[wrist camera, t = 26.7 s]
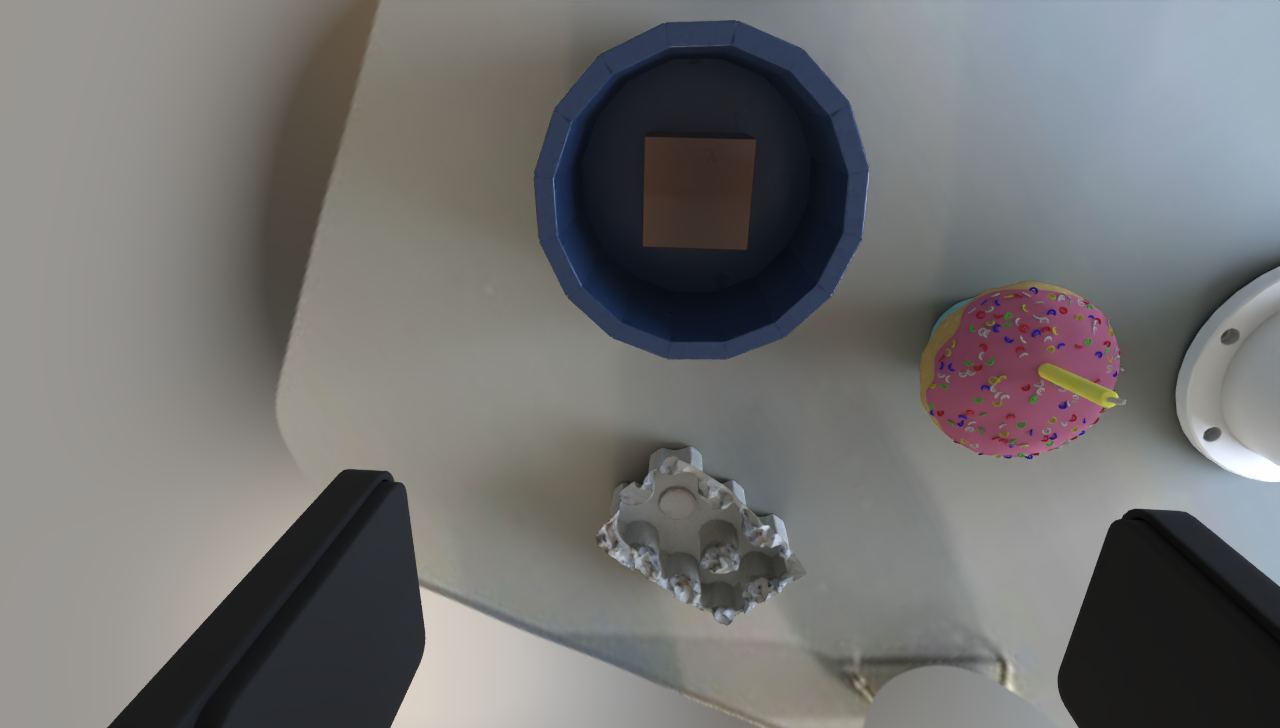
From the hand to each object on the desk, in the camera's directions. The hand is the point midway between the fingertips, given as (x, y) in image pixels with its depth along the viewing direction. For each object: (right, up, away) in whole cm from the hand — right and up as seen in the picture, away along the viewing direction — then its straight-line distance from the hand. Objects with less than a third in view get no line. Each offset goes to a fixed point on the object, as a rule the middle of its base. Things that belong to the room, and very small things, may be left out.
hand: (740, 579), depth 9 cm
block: (+1, +12, +23) cm, 26 cm away
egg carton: (+2, -6, +31) cm, 32 cm away
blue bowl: (+1, +12, +24) cm, 26 cm away
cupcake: (+16, +4, +26) cm, 31 cm away
